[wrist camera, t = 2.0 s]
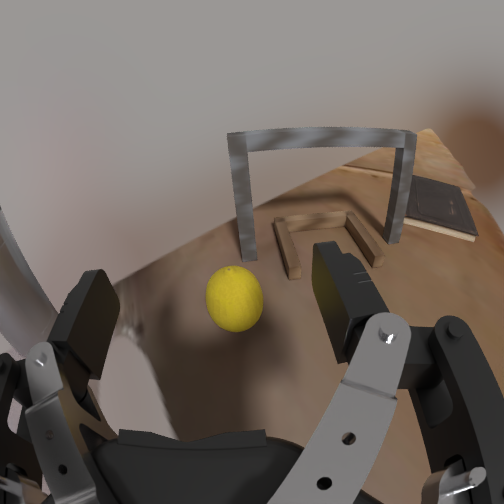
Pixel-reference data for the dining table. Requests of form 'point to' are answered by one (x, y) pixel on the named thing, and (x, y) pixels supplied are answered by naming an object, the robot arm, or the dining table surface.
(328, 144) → the keeper pocket
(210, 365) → the dining table surface
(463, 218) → the hardcover book
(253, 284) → the lemon
